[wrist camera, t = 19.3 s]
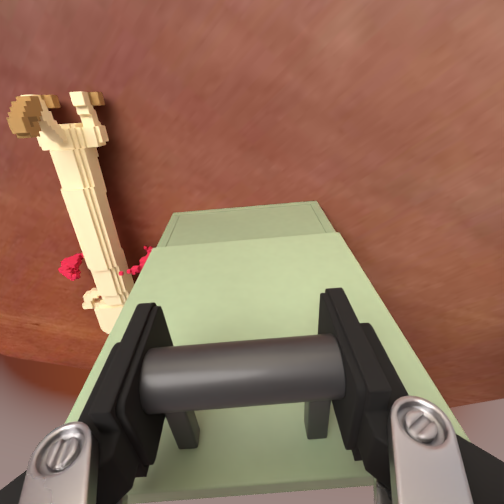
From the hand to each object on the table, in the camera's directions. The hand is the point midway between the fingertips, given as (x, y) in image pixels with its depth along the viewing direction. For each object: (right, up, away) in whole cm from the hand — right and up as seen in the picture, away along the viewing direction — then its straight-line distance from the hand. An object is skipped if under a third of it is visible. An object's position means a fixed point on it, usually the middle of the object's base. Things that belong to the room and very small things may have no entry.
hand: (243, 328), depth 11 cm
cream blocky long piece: (-14, +5, +20) cm, 25 cm away
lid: (0, -1, +6) cm, 6 cm away
